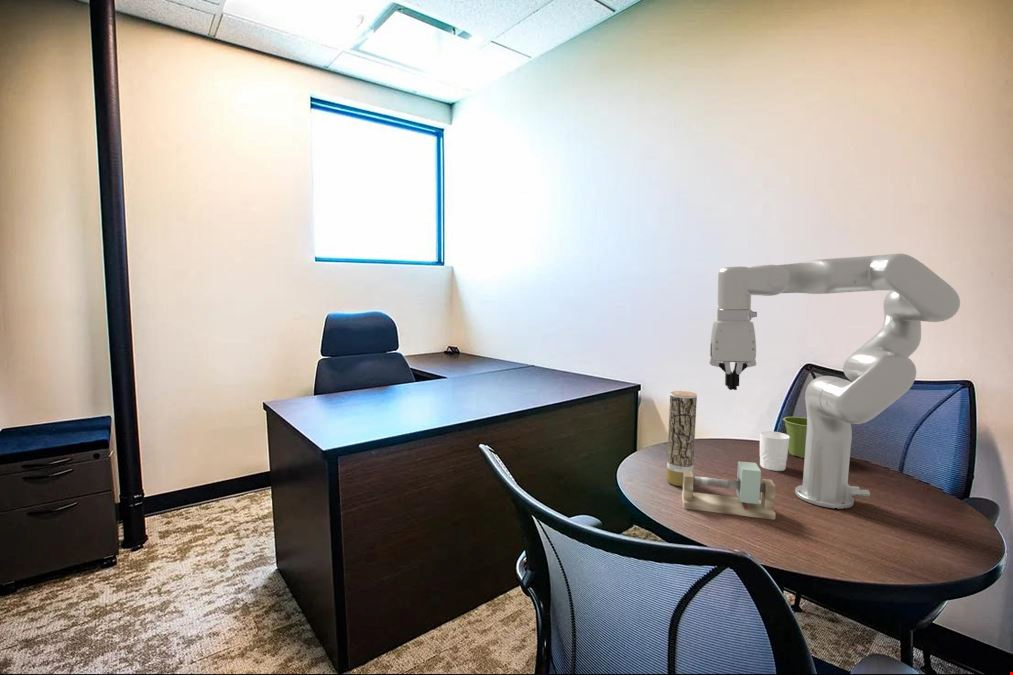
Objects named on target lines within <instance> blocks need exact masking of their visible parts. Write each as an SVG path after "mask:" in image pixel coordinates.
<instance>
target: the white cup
mask: <svg viewBox="0 0 1013 675" xmlns="http://www.w3.org/2000/svg"><path fill="white" fill-rule="evenodd" d="M789 440H790V436H788V435H787V433H783V432H779V431H773V430H765V431H763V430H762V431H760V432H759V466H760V467H762V468H763V469H765V470H769V471H774V472H775V471H776V472H783V471H785V470H786V467H787V460H788V455H789Z"/></svg>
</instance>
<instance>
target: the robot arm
mask: <svg viewBox="0 0 1013 675" xmlns="http://www.w3.org/2000/svg"><path fill="white" fill-rule="evenodd" d="M717 274H718V275H717V314H716V317H717V321H714V322H713V323H712V328H711V334H710V335H711V336H710V345H709V346H710V347H709V356H710V360H709V365H710V366H713V367H716V368H720V369H721V370H722V371H723V372H724V375H725V377H724V378H725V379H724V384H725V386H726V387H727V389H728V390H729V391H732V390H734V391H737V390H738V389H737V388H738V387H740V375H741V374H742V372H744V371H745V369H747V368H752V367H756V366H757V362H756V358H757V343H756V342H757V341H756V331H755V325H754V322H753V321H752V319H754V318H757V316H758V312H757V311H753V310H752V309H751V308H752V307H751V306H752V296H761V297H762V296H763V297H765V296H766V297H771V296H777V295H780V294H809V295H810V294H811V295H824V294H825V295H826V294H828V295H829V294H840V293H841V294H842V293H853V292H854V293H856V292H871V291H873V292H874V291H875V292H876V291H888V293H887V294H886V295H885V297H884V300H883V312H884V313H883V314H884V316H883V317H884V319H883V320H884V321H883V324H882V326H881V328H880V329H879V330H878V332H877V333H875V334H874V335H873V336H872V337H871V338H870V339H868V340H867V341H866V342H865V343H864V344H862V345H861V346H860V347H859V348H857V350H855V351H854V352H853V353H852V354H851V355H849V356H848V357H847V358H846V360H845V361H844V363H843V365H842V366H843V367H842V371H843V374H844V375H845V377H846V378H847V379H845V378H841V377H839V376H838V377H837V376H831V375H823V376H818V377H816V378H814V379H813V380H811V381H810V382H809V383H808V385H807V387H806V390H805V394H804V395H805V396H804V398H805V400H804V401H805V408H806V418H807V434H806V446H805V458H803V460H804V462H803V477H802V484H801V485H797V486H796V487H795V489H794V494H795V495H796V496H797V497H798V498H799V499H801V500H802V501H804V502H807V503H808V504H809V503H810V504H812V505H814V506H819V507H824V508H829V509H835V508H837V509H838V510H839V509H840V510H841V509H842V510H844V508H845V509H848V508H852V507H853V506H854V503H855V502H854V498H856V497H859V498H862V499H864V498H865V499H870V497H871V491H870V490H869V489H861V488H860V487H859V486H855V485H854V486H851V485H850V484H849V482H848V481H849V473H850V472H849V470H850V458H851V448H852V446H851V445H852V437H853V436H852V435H853V434H852V433H853V432H852V425H861V424H862V425H863V424H865V423H867V422H869V421H871V420H873V419H874V418H876V417H877V416H879V414H881V413H882V412H884V411H885V410H886V409H888V408H889V407H890V406H891V405H892V404H894V403H895V402H896V401H897V400H898V399H900V398H901V397H902V396H903V395H904V394H906V393H907V392H908V391H909V390H910V389H911V387H912V386H913V385H914V382H915V381H916V378H917V367H916V365H915V362H914V361H913V360H912V359H911V358H910V356H911V355H913V354H914V353H915V352H916V350H918V348H919V346H920V343H921V340H922V322H930V323H938V322H939V323H940V322H944V321H947V320H950V319H952V318H953V317H954V316H955V315H956V314H957V313H958V312H959V309H960V307H961V300H960V297H959V294H958V292H957V291H956V289H955V288H954V287H952V285H950V284H949V283H948V282H947V281H945V280H944V279H943V278H941V276H939V275H938V274H937V273H935V272H934V271H933V270H932V269H931V268H930V267H928V266H926V265H925V264H924V263H922V262H921V261H920V260H918V259H916V258H915V257H913V256H911V255H908V254H906V253H891V254H879V255H878V254H877V255H865V256H854V257H853V256H852V257H839V258H838V257H837V258H836V257H834V258H823V259H822V258H821V259H814V260H809V261H804V262H803V261H802V262H796V263H788V264H787V263H786V264H764V265H763V264H762V265H755V266H754V265H753V266H750V267H748V266H726V267H721V269H719V270H718V273H717ZM731 363H734V367H733V370H732V369H731Z"/></svg>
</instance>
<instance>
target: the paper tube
mask: <svg viewBox="0 0 1013 675" xmlns="http://www.w3.org/2000/svg"><path fill="white" fill-rule="evenodd" d="M697 397H698V395H697V393H695V392H691V391H686V390H683V391H682V390H674V391H670V394H669V409H668V410H669V412H668V414H669V415H668V416H669V417H668V435H667V438H668V440H667V454H666V455H667V456H666V457H667V459H666V481H667V483H668V484H670V485H672V486H676V487H681V488H683V473H684V471H692V473H693V474H694V457H695V440H696V438H695V437H696V422H697V419H696V418H697V403H698V402H697V401H698V398H697Z"/></svg>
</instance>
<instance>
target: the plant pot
mask: <svg viewBox="0 0 1013 675" xmlns="http://www.w3.org/2000/svg"><path fill="white" fill-rule="evenodd" d="M782 420H783V421H784V423H785V429H786V435H788V436H790V440H789V448H788V454H790V455H791V456H793V457H794V456H796V457H798V458H801V459H805V446H806V434H807V417H803V416H802V417H799V416H786V417H783V419H782Z"/></svg>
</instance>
